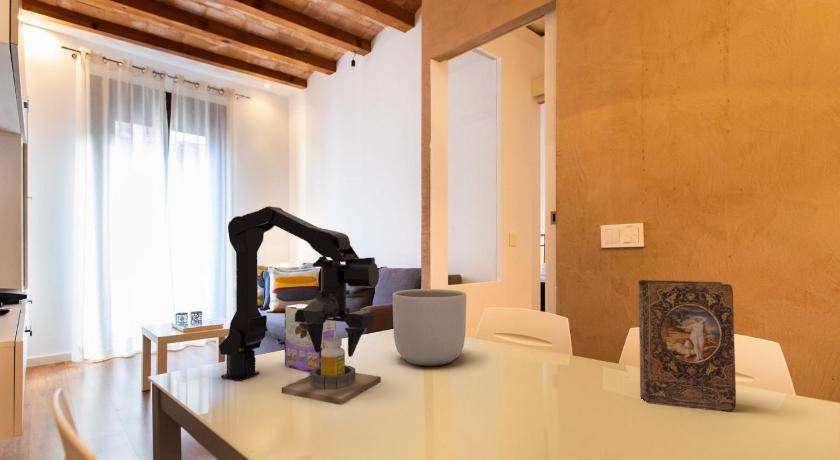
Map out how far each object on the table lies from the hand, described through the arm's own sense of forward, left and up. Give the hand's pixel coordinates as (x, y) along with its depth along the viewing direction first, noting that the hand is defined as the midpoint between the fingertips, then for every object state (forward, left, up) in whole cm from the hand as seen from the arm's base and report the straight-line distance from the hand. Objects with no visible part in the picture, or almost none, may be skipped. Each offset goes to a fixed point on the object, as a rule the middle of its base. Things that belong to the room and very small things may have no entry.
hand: (333, 354), depth 99 cm
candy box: (-15, +10, -8) cm, 20 cm away
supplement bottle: (0, 0, -6) cm, 7 cm away
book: (+72, +23, -8) cm, 76 cm away
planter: (+11, +30, -8) cm, 33 cm away
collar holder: (0, 0, -8) cm, 8 cm away
